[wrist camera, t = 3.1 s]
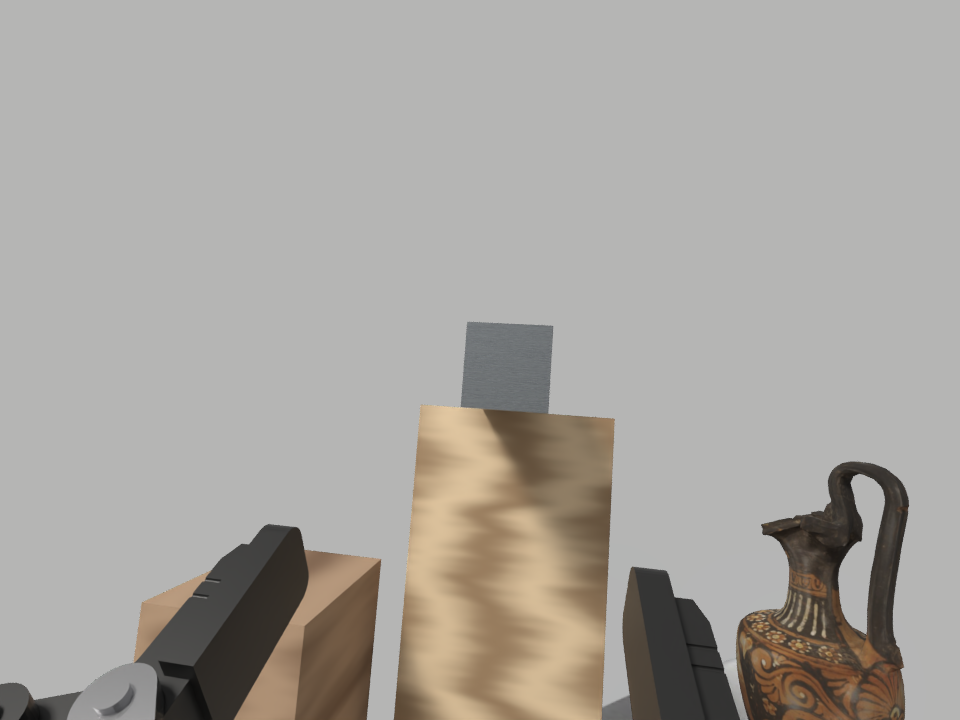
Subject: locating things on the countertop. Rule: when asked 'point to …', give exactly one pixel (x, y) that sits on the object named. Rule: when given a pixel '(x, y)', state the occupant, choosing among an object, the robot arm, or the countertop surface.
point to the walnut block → (304, 643)
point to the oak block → (506, 567)
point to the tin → (507, 367)
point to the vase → (828, 617)
